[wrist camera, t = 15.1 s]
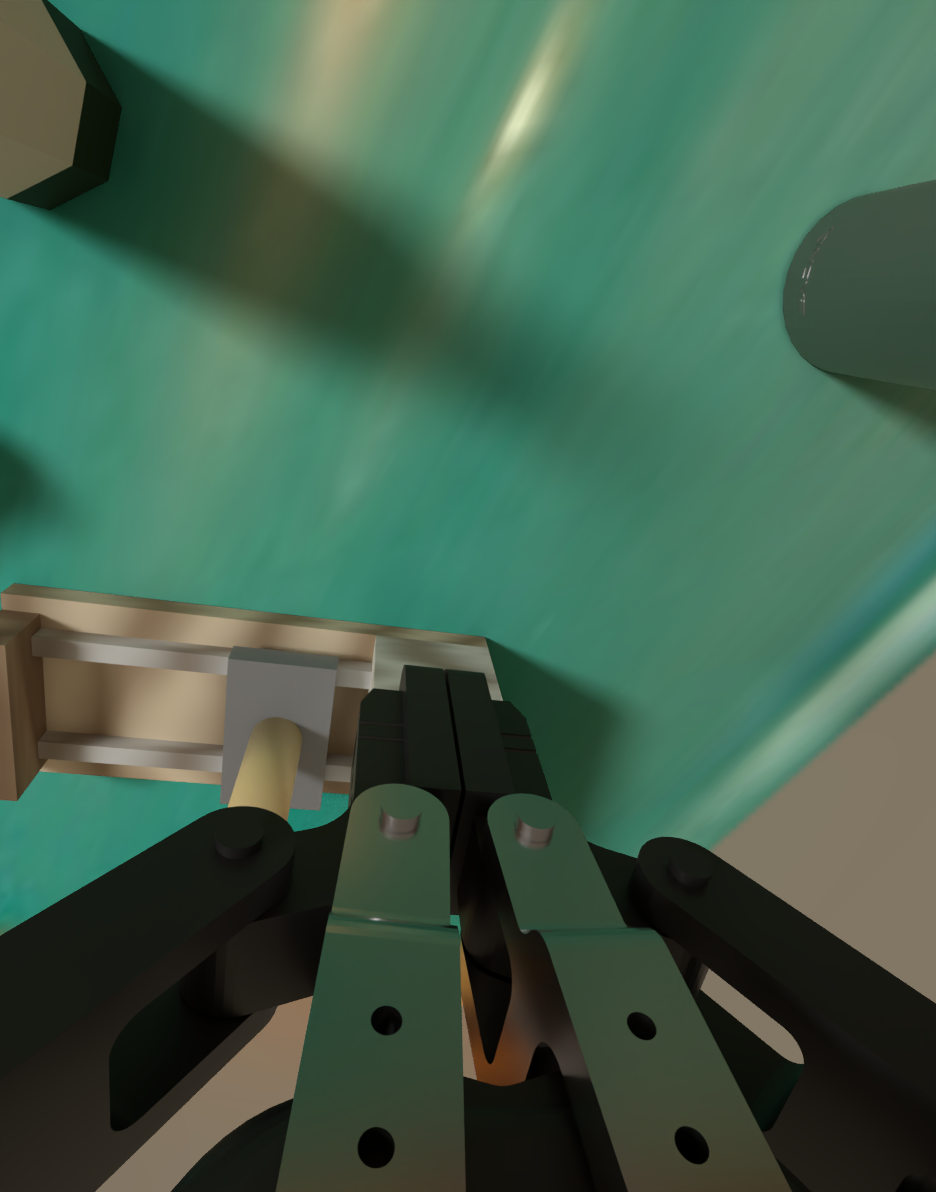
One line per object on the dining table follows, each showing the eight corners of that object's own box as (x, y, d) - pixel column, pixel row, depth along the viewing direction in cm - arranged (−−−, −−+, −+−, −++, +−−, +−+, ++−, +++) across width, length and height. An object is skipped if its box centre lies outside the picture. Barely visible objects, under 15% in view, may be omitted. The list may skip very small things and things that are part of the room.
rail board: (484, 637, 45) (510, 728, 36) (453, 790, 50) (469, 908, 40) (13, 583, 41) (-103, 671, 31) (26, 757, 45) (-73, 881, 35)
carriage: (338, 656, 41) (325, 753, 33) (322, 793, 45) (306, 913, 36) (233, 645, 40) (190, 742, 32) (225, 786, 44) (185, 908, 35)
